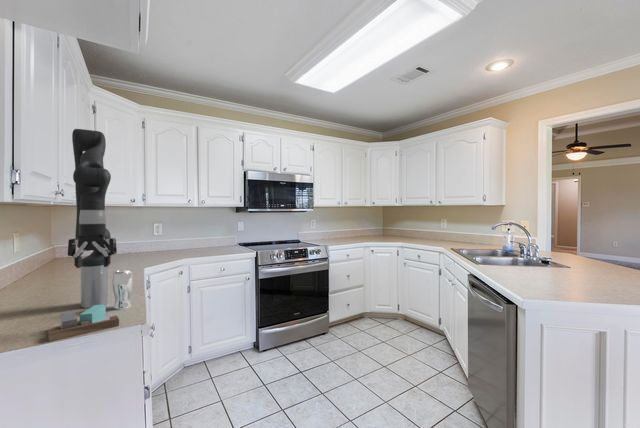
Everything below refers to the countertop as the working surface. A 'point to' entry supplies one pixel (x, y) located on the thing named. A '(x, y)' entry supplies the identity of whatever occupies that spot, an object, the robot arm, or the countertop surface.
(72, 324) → the charcoal plug
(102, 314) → the teal plug
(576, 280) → the countertop surface
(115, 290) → the beer glass
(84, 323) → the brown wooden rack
